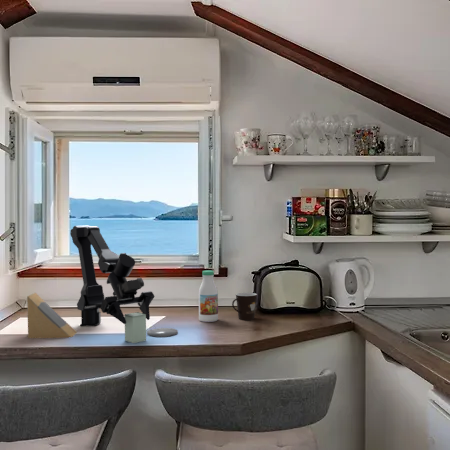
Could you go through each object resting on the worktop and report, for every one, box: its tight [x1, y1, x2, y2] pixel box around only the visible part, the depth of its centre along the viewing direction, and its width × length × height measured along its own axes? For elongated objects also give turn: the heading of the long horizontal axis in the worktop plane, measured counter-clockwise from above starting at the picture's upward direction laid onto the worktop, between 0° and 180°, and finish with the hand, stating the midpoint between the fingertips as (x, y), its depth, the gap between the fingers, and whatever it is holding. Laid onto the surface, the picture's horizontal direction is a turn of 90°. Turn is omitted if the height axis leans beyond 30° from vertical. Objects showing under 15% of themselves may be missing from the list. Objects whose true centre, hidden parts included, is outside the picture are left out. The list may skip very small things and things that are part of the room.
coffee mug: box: [231, 292, 258, 321], centre depth 206 cm, size 12×9×10 cm
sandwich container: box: [26, 292, 78, 339], centre depth 182 cm, size 9×15×15 cm, turn 93°
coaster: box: [146, 327, 179, 338], centre depth 183 cm, size 11×11×1 cm
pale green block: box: [124, 311, 147, 344], centre depth 173 cm, size 5×5×9 cm
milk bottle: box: [198, 269, 219, 323], centre depth 204 cm, size 8×8×20 cm
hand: (137, 321), depth 172 cm, fingers open, 9 cm apart
